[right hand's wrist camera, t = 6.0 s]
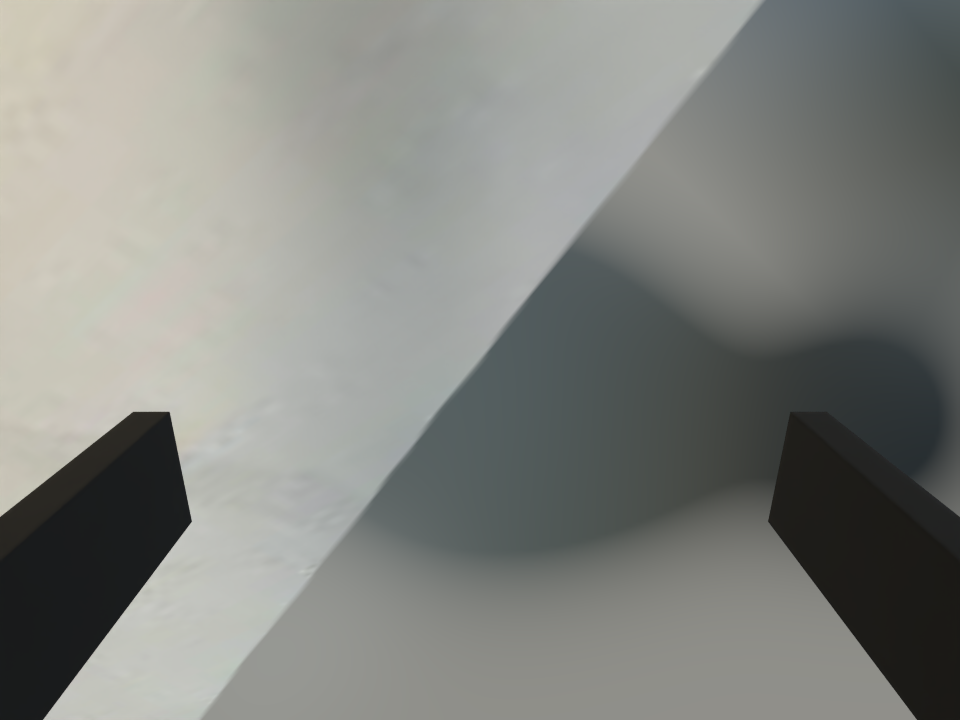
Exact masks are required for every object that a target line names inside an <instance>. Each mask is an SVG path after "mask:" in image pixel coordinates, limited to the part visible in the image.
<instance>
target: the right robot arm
mask: <svg viewBox="0 0 960 720" xmlns="http://www.w3.org/2000/svg"><path fill="white" fill-rule="evenodd" d="M191 522H192V520H191V515H190V510H189V505H188V500H187V495H186V491H185V486H184V481H183V476H182V471H181V466H180V461H179V456H178V451H177V446H176V441H175V436H174V431H173V427H172V422H171V417H170V412H133V413H131V414H130V415H129V416H127V417H126V418H125V419H124V420H122V421H121V422H120V423H119V424H117V425H116V426H115V427H114V428H112V429H111V430H110V431H109V432H107V433H106V434H105V435H103V436H102V437H101V438H100V439H98V440H97V441H96V442H95V443H93V444H92V445H91V446H90V447H88V448H87V449H86V450H84V451H83V452H82V453H81V454H79V455H78V456H77V457H76V458H74V459H73V460H72V461H71V462H69V463H68V464H67V465H65V466H64V467H63V468H62V469H60V470H59V471H58V472H57V473H55V474H54V475H53V476H52V477H50V478H49V479H48V480H46V481H45V482H44V483H43V484H41V485H40V486H39V487H38V488H36V489H35V490H34V491H33V492H31V493H30V494H29V495H28V496H26V497H25V498H24V499H22V500H21V501H20V502H19V503H17V504H16V505H15V506H14V507H12V508H11V509H10V510H9V511H7V512H6V513H5V514H3V515H2V516H1V517H0V720H43V719H44V718H45V716H46V715H47V714H48V712H49V711H50V710H51V708H52V707H53V706H54V704H55V703H56V702H57V700H58V699H59V698H60V696H61V695H62V694H63V692H64V691H65V690H66V688H67V687H68V686H69V684H70V683H71V682H72V680H73V679H74V678H75V676H76V675H77V674H78V672H79V671H80V670H81V668H82V667H83V666H84V664H85V663H86V662H87V660H88V659H89V658H90V656H91V655H92V654H93V652H94V651H95V650H96V648H97V647H98V646H99V644H100V643H101V642H102V640H103V639H104V638H105V636H106V635H107V634H108V632H109V631H110V630H111V628H112V627H113V626H114V624H115V623H116V622H117V620H118V619H119V618H120V616H121V615H122V614H123V612H124V611H125V610H126V608H127V607H128V606H129V604H130V603H131V602H132V600H133V599H134V598H135V596H136V595H137V594H138V593H139V591H140V590H141V589H142V587H143V586H144V585H145V583H146V582H147V581H148V579H149V578H150V577H151V575H152V574H153V573H154V571H155V570H156V569H157V567H158V566H159V565H160V563H161V562H162V561H163V559H164V558H165V557H166V555H167V554H168V553H169V551H170V550H171V549H172V547H173V546H174V545H175V543H176V542H177V541H178V539H179V538H180V537H181V535H182V534H183V533H184V531H185V530H186V529H187V527H188V526H189V525H190V523H191ZM768 522H769V523H770V525H771V526H772V527H773V529H774V530H775V531H776V533H777V534H778V535H779V537H780V538H781V539H782V541H783V542H784V543H785V545H786V546H787V547H788V549H789V550H790V551H791V553H792V554H793V555H794V557H795V558H796V559H797V561H798V562H799V563H800V565H801V566H802V567H803V569H804V570H805V571H806V573H807V574H808V575H809V577H810V578H811V579H812V581H813V582H814V583H815V584H816V586H817V587H818V589H819V590H820V591H821V593H822V594H823V595H824V596H825V598H826V599H827V600H828V602H829V603H830V604H831V606H832V607H833V608H834V610H835V611H836V612H837V614H838V615H839V616H840V618H841V619H842V620H843V622H844V623H845V624H846V626H847V627H848V628H849V630H850V631H851V632H852V634H853V635H854V636H855V638H856V639H857V640H858V642H859V643H860V644H861V646H862V647H863V648H864V650H865V651H866V652H867V654H868V655H869V656H870V658H871V659H872V660H873V662H874V663H875V664H876V666H877V667H878V668H879V670H880V671H881V672H882V674H883V675H884V676H885V678H886V679H887V680H888V682H889V683H890V684H891V686H892V687H893V688H894V690H895V691H896V692H897V694H898V695H899V696H900V698H901V699H902V700H903V702H904V703H905V704H906V706H907V707H908V708H909V710H910V711H911V712H912V714H913V715H914V716H915V718H916V719H917V720H960V517H959V516H958V515H956V514H955V513H954V512H953V511H951V510H950V509H949V508H948V507H946V506H945V505H944V504H943V503H941V502H940V501H939V500H938V499H936V498H935V497H934V496H932V495H931V494H930V493H929V492H927V491H926V490H925V489H924V488H922V487H921V486H920V485H919V484H917V483H916V482H915V481H914V480H912V479H911V478H910V477H908V476H907V475H906V474H905V473H903V472H902V471H901V470H900V469H898V468H897V467H896V466H894V465H893V464H892V463H891V462H889V461H888V460H887V459H886V458H884V457H883V456H882V455H881V454H879V453H878V452H877V451H876V450H874V449H873V448H872V447H870V446H869V445H868V444H867V443H865V442H864V441H863V440H862V439H860V438H859V437H858V436H857V435H855V434H854V433H853V432H851V431H850V430H849V429H848V428H846V427H845V426H844V425H843V424H841V423H840V422H839V421H838V420H836V419H835V418H834V417H832V416H831V415H830V414H829V413H827V412H790V417H789V422H788V427H787V431H786V436H785V441H784V446H783V451H782V456H781V461H780V466H779V471H778V476H777V481H776V486H775V491H774V496H773V500H772V505H771V510H770V515H769V520H768Z"/></svg>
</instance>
